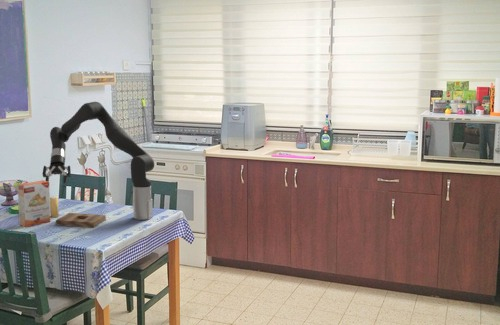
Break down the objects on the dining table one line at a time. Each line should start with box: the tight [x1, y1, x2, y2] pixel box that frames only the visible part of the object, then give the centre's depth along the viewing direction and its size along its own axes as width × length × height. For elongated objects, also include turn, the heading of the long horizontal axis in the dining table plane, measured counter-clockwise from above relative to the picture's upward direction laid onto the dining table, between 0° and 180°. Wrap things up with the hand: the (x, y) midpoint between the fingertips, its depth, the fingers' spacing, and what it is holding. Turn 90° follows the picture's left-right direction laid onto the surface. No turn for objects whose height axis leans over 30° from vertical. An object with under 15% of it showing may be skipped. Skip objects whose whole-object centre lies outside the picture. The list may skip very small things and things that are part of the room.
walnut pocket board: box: [55, 212, 107, 228], centre depth 279 cm, size 20×14×2 cm
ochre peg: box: [50, 196, 60, 219], centre depth 288 cm, size 4×4×10 cm
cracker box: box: [17, 179, 51, 228], centre depth 274 cm, size 14×6×21 cm, turn 143°
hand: (55, 182), depth 295 cm, fingers open, 8 cm apart
